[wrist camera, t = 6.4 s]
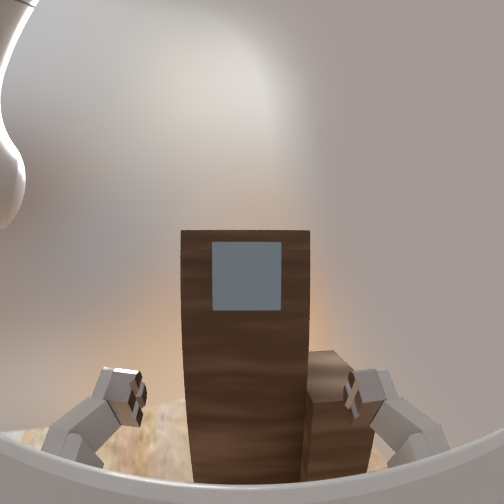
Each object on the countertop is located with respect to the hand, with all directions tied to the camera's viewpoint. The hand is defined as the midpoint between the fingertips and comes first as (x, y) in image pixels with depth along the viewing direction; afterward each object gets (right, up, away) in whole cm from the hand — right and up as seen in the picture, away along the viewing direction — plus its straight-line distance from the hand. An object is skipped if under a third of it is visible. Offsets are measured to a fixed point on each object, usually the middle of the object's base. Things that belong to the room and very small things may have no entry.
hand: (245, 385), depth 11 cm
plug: (0, +2, +15) cm, 15 cm away
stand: (+2, -21, +18) cm, 28 cm away
